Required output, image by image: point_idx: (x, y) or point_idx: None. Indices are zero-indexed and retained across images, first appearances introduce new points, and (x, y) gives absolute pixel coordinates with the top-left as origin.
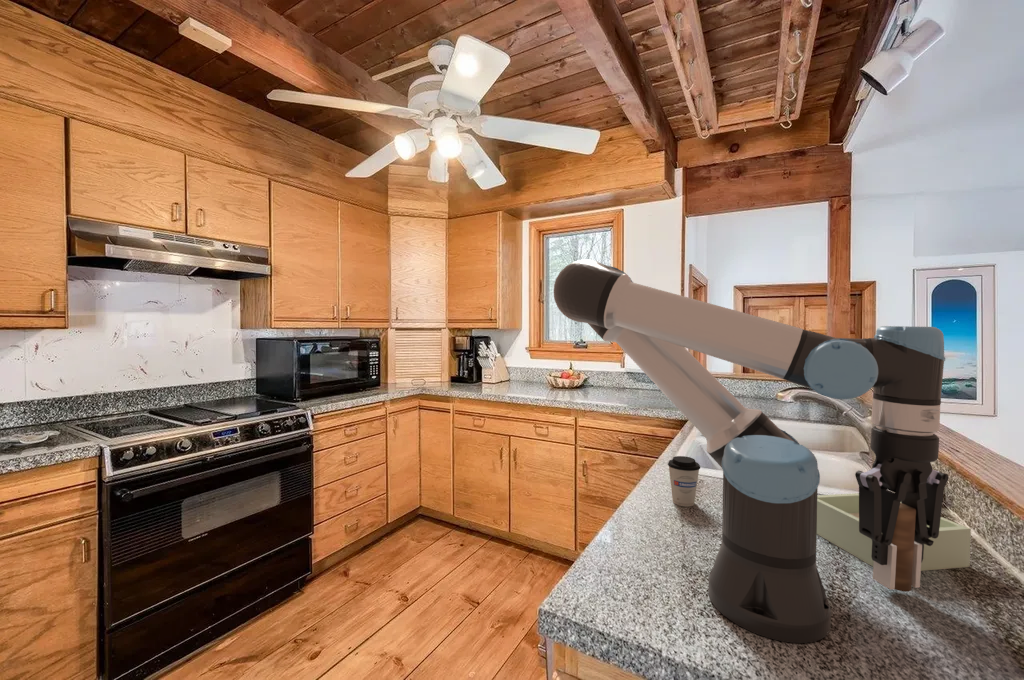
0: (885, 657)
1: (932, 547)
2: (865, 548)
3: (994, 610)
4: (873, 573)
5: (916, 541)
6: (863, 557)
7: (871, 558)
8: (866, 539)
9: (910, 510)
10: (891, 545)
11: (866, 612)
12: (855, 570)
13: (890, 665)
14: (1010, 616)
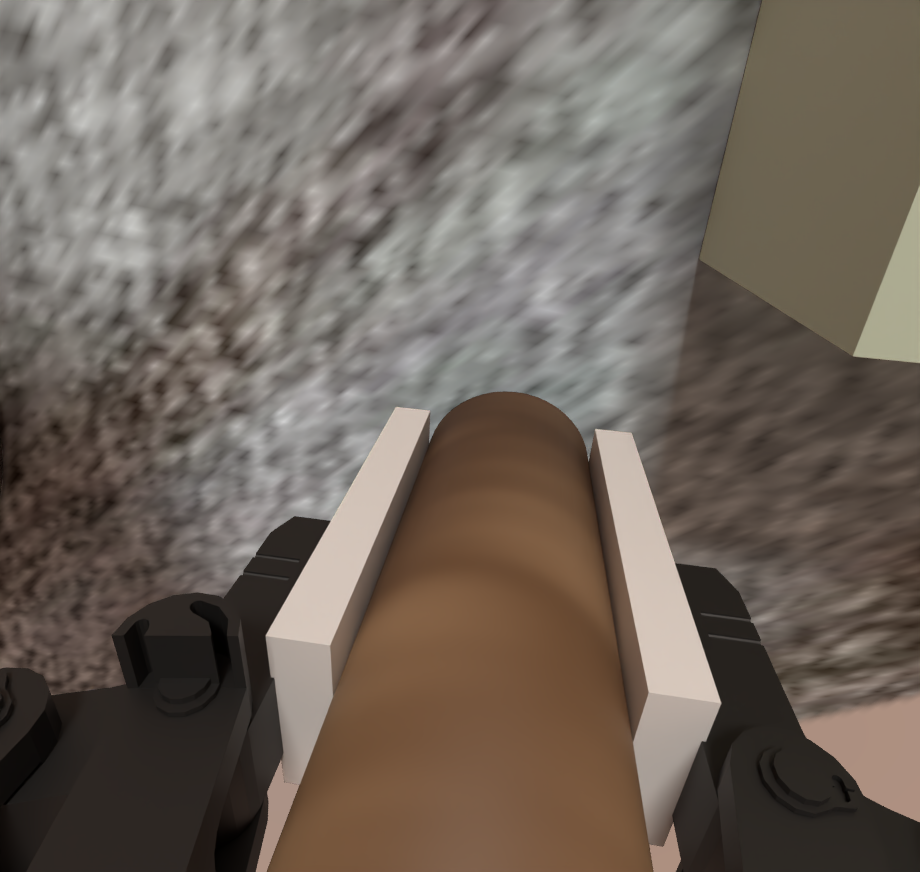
0: (90, 669)
1: None
2: (801, 28)
3: (855, 657)
4: (384, 428)
5: (678, 815)
6: (767, 25)
7: (749, 126)
8: (854, 12)
9: None
10: (287, 775)
11: (205, 510)
12: (519, 163)
13: (82, 688)
14: (862, 696)
